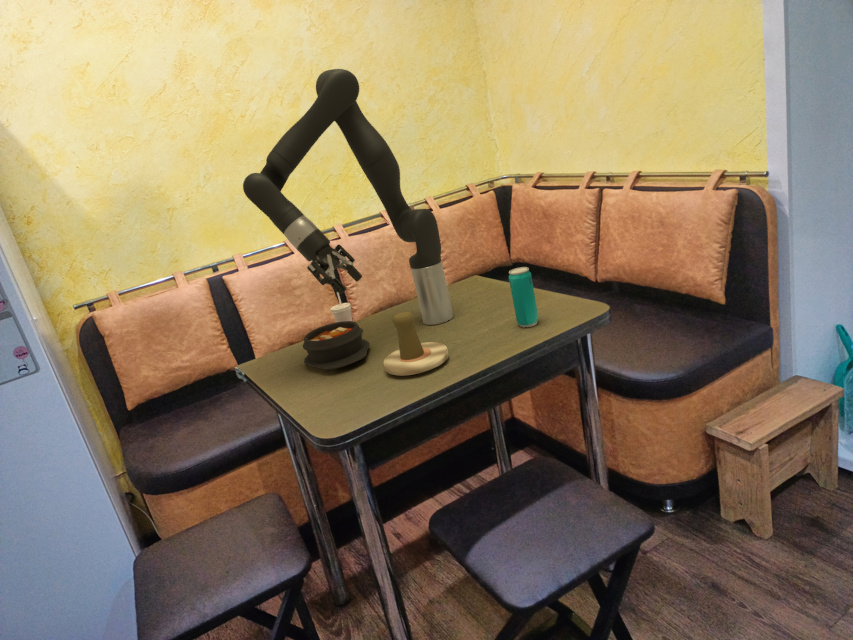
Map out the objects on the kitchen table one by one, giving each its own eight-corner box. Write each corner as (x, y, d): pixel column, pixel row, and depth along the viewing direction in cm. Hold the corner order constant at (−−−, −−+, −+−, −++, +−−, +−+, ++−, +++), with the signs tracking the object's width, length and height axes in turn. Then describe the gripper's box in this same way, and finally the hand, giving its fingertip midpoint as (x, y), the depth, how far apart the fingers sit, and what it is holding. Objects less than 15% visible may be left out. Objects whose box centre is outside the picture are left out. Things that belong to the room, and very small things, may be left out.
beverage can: (539, 319, 160) (530, 265, 155) (539, 326, 154) (529, 271, 150) (518, 322, 161) (508, 269, 156) (517, 329, 156) (507, 275, 151)
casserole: (383, 359, 157) (375, 330, 154) (315, 383, 151) (306, 353, 149) (358, 337, 180) (351, 311, 177) (298, 357, 174) (290, 331, 172)
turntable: (396, 355, 158) (393, 345, 157) (454, 348, 153) (452, 338, 152) (377, 382, 143) (374, 371, 142) (441, 375, 138) (439, 364, 137)
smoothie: (362, 331, 184) (350, 288, 180) (351, 339, 179) (339, 295, 175) (345, 332, 187) (333, 290, 183) (334, 340, 182) (321, 297, 178)
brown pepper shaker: (421, 358, 144) (411, 315, 140) (397, 361, 145) (387, 319, 142) (426, 348, 149) (416, 307, 146) (403, 351, 151) (393, 311, 148)
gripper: (299, 237, 141) (347, 287, 142) (329, 220, 153) (373, 266, 154) (283, 256, 145) (330, 305, 146) (313, 238, 157) (356, 283, 158)
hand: (352, 285), depth 150 cm, fingers open, 8 cm apart
